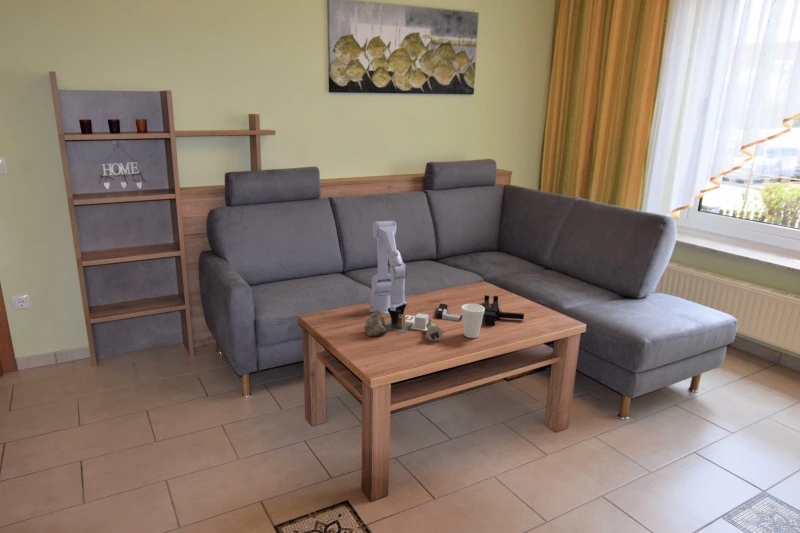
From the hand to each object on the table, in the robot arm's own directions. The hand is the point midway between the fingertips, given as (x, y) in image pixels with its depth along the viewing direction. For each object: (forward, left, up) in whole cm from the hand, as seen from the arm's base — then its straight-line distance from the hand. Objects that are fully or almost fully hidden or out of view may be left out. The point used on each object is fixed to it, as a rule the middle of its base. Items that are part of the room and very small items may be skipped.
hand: (397, 320), depth 249 cm
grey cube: (+10, +4, -3) cm, 11 cm away
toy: (+38, +32, -4) cm, 49 cm away
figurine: (+18, -4, -3) cm, 19 cm away
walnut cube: (0, 0, -3) cm, 3 cm away
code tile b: (+10, +4, -3) cm, 11 cm away
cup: (+33, +2, -3) cm, 33 cm away
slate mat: (0, 0, -3) cm, 3 cm away
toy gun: (+18, +23, -4) cm, 30 cm away
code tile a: (+2, +11, -3) cm, 12 cm away
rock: (-7, -11, -3) cm, 13 cm away
